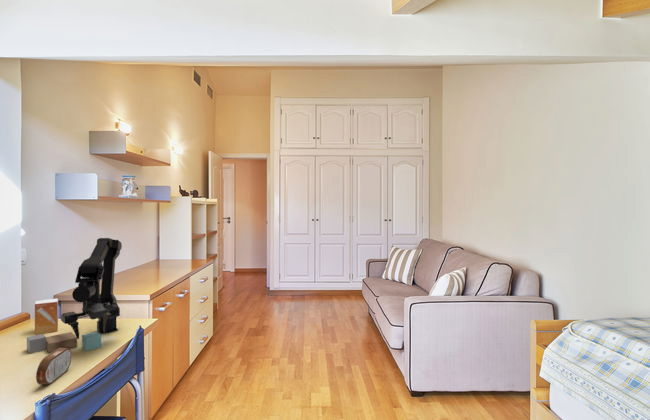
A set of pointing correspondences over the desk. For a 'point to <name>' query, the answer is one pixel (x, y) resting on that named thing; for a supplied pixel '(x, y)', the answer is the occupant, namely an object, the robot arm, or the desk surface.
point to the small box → (46, 316)
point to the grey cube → (36, 343)
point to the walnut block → (61, 342)
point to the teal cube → (91, 341)
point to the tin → (53, 366)
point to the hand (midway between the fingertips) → (91, 335)
